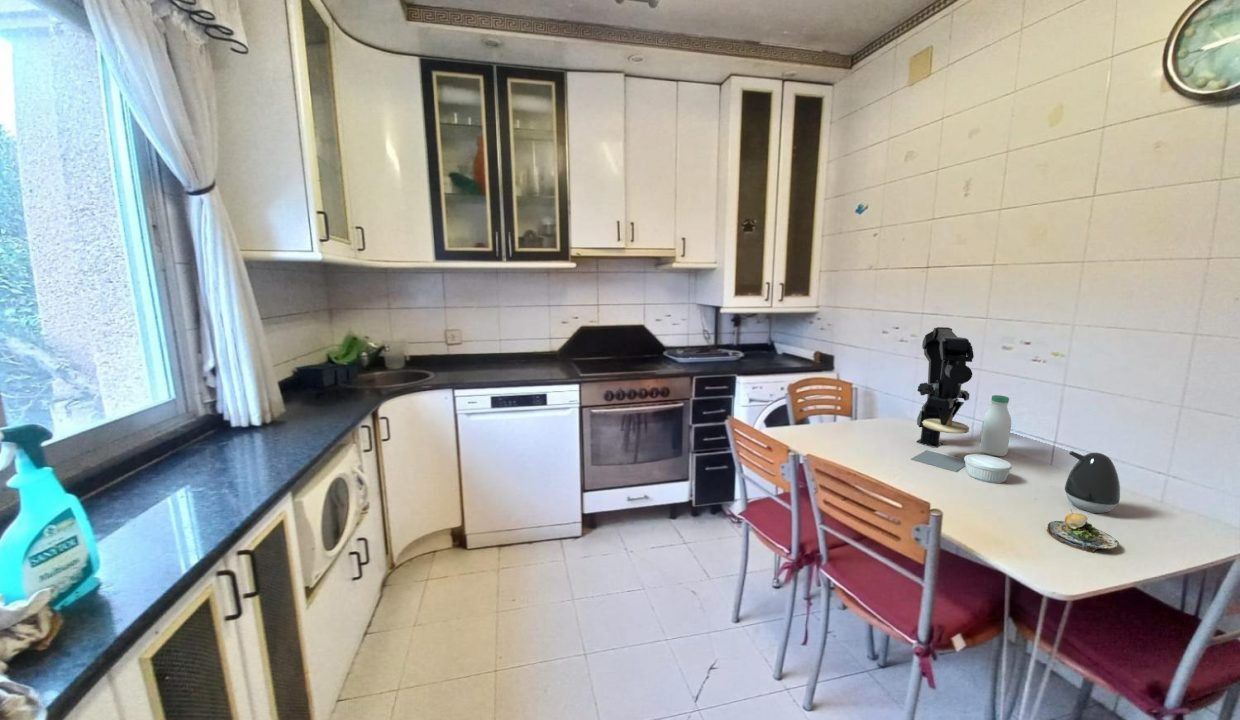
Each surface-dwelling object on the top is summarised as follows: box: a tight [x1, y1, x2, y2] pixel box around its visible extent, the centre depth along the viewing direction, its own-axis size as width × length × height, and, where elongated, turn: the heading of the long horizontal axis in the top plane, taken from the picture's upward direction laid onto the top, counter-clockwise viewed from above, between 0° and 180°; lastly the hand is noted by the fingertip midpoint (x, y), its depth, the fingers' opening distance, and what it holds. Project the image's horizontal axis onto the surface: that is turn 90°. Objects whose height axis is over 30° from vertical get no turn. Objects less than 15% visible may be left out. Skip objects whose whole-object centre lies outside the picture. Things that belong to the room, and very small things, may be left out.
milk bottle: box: [978, 394, 1012, 457], centre depth 161 cm, size 8×8×20 cm
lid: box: [922, 414, 970, 435], centre depth 152 cm, size 12×12×4 cm
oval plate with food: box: [1046, 507, 1120, 553], centre depth 108 cm, size 12×12×8 cm
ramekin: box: [963, 453, 1012, 484], centre depth 142 cm, size 11×11×5 cm
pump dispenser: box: [1064, 450, 1121, 514], centre depth 122 cm, size 10×10×15 cm
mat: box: [910, 449, 966, 473], centre depth 155 cm, size 13×13×1 cm
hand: (945, 423), depth 153 cm, fingers closed on lid, 3 cm apart
